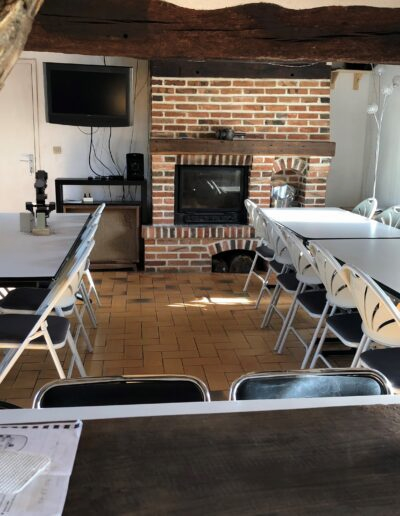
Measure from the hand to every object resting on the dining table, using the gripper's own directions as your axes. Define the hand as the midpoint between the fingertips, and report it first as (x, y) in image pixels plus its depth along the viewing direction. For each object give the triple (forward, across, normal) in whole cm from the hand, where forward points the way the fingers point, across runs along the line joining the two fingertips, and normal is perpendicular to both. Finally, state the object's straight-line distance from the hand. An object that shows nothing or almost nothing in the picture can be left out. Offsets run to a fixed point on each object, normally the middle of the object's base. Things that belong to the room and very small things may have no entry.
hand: (41, 216), depth 343 cm
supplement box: (-2, -9, +19) cm, 21 cm away
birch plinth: (+8, 0, +10) cm, 12 cm away
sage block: (+5, 0, +7) cm, 8 cm away
